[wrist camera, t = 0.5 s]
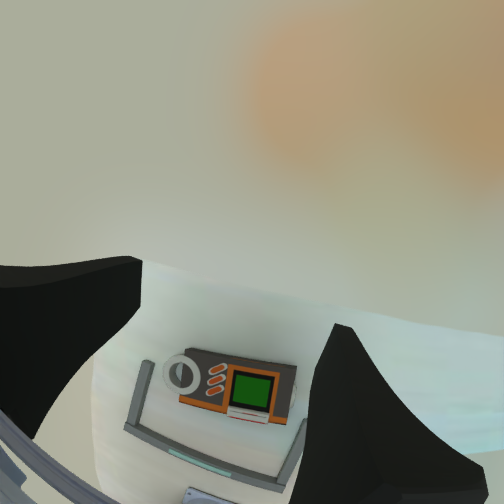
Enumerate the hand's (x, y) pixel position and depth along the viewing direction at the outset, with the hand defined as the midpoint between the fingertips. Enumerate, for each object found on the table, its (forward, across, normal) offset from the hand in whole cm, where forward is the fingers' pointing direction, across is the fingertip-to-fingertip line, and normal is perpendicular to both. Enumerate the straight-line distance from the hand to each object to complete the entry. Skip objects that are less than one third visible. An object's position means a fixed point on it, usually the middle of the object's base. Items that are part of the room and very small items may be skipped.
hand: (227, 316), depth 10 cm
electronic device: (+16, +2, +20) cm, 25 cm away
